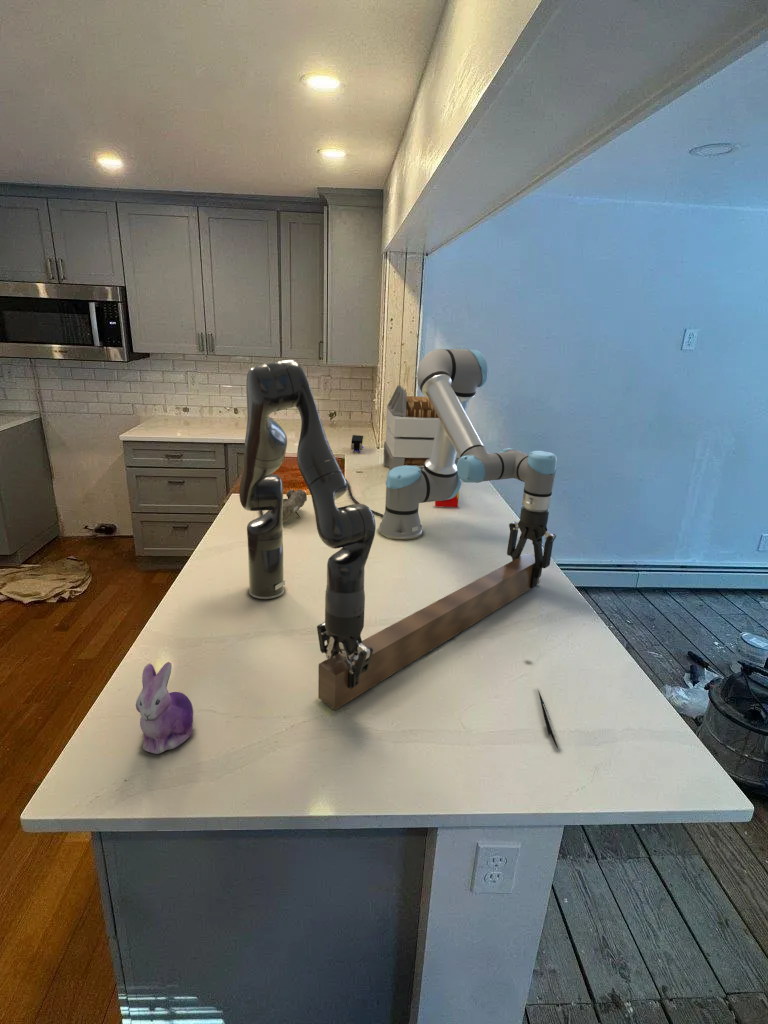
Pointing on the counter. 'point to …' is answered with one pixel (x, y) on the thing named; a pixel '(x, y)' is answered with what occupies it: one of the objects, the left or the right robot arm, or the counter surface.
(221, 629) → the counter surface
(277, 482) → the left robot arm
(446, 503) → the toy
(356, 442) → the figurine character
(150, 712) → the figurine
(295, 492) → the fossil
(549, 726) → the feather
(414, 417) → the white slatted box
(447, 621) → the bar
